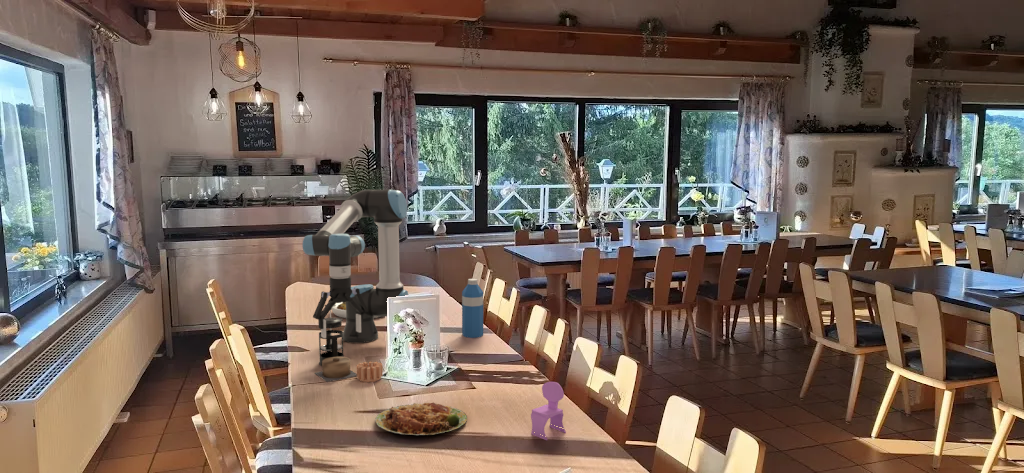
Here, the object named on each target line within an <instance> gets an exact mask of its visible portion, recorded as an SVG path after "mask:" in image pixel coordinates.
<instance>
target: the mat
mask: <svg viewBox="0 0 1024 473" xmlns="http://www.w3.org/2000/svg"><path fill="white" fill-rule="evenodd" d="M314 374H315V375H316V376H318V377H319V378H321V379H322V380H324V382H326V383H330V382H335V381H340V380H346V379H350V378H357V372H355V371H353V370H351V373H350V375H348V376H346V377H342V378H326V377H324V376H323V375H322V370H320V371H316V372H314Z"/></svg>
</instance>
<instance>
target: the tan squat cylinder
mask: <svg viewBox="0 0 1024 473" xmlns="http://www.w3.org/2000/svg"><path fill="white" fill-rule="evenodd" d="M321 371H322V375H323V376H324V377H326V378H342V377H346V376H348V375H350V373H351V371H352V370H351V358H349V357H346V356H344V357H330V358H326V359H324V360H323V361H322V366H321Z"/></svg>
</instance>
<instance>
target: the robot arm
mask: <svg viewBox="0 0 1024 473" xmlns="http://www.w3.org/2000/svg"><path fill="white" fill-rule="evenodd" d="M407 212H408V203H407V200H406V197H405V195H404V193H403V192H402V191H401V190H395V189H363V190H360V191H358V192H355V193H353V194H352V195H350V196H349V197H347V198H346V199H345V200H344V201H343V202H342V203H341V205H340V208H339V210H338V211H336V213H335V214H334V215H333V216H332V217H330V219H329V220H328V221H327V222H326V223H325V224H324V225H323V227H322V228H321V229H320V230H318V231H317V233H316V234H308V235H305V236H304V237H303V240H302V251H303V252H304V254H305V255H309V256H313V257H315V256H325V257H326V256H327V257H328V258H329V260H328V261H329V262H328V263H329V264H328V265H329V267H328V269H329V275H328V276H330V278H329V291H321V293H320V299H319V302H318V303H317V306H316V309H315V311H314V313H313V314H312V315H313V316H312V318H313V319H315V320H318V322H317V323H318V328H319V329H320V332H321V337H323V338H326V330H327V328H326V320H325V319H324V318H327V316H328V314H329V313H330V310H331V308H332V307H333V305H335V304H336V303H341V302H346V318H345V319H346V321H345V325H344V328H343V342H347V343H353V344H362V343H363V344H364V343H369V342H373V341H377V340H378V339H379V332H378V329H377V325H376V323H375V318H374V316H382V317H387V302H386V301H387V298H388V297H396V296H405V295H409V291H408V290H406V289H404V284H403V283H402V282H401V280H400V276H401V273H400V272H401V271H400V269H401V268H400V232H399V231H400V230H399V229H400V225H401V224H402V223H403V219H405V217H406V216H407ZM362 218H374V219H373V223H375V225H376V226H377V235H378V236H377V237H378V239H377V240H378V243H377V244H378V273H379V274H378V278H379V282H377V284H376V285H375V286H374V285H373V284H369V283H367V284H365V283H364V284H357V285H354V286H352V278H351V277H350V276H351V275H352V269H351V268H352V267H351V266H352V265H351V264H352V262H351V259H352V258H353V257H357V256H359V255H360V254H363V252H364V250H365V248H366V243H365V241H364V240H365V239H363V238H362V236H359V235H355V234H354V235H353V234H352V235H350V234H349V233H346V231H347V230H348V229H349V228H350V227H351V226H352V224H353V223H355V222H358V221H359V220H360V219H362ZM329 297H330V298H329ZM327 299H328V302H327ZM326 302H327V303H326ZM325 305H326V306H325ZM331 311H332V310H331Z"/></svg>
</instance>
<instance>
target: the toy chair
mask: <svg viewBox="0 0 1024 473" xmlns="http://www.w3.org/2000/svg"><path fill="white" fill-rule="evenodd" d="M541 392H542V396H543V398H544V399H546V400H547V402H548V403H547V404H544V405H542V406H538V407H536V408H533V409H531V413H530V418H531V419H530V420H531V433H530V435H532V436H535V437H536V438H540V439H542V440H545V441H548V436H547V435H546V432H545V427H546V424H547V422H548V421H549V419H550V422H549V428H551V429H553V430H557V431H559V432H562V433H564V434H566V430H565V429H566V428H565V426H564V424H563V423H564V422H563V419H564V411H563V409H561V408H558V405H559V402H560V401H561V400H562V399H563V398H564V396H565V393H564V390H563V388H562V386H561V385H560V384H559V382H556V381H547V382H545V383H543V384H542V386H541ZM551 424H552V425H551ZM554 425H555V426H554ZM556 426H558V427H556ZM559 427H562V428H564V429H562V428H559ZM534 432H535V433H534ZM540 434H541V435H540ZM542 435H543V436H542ZM545 436H546V437H545Z"/></svg>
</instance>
